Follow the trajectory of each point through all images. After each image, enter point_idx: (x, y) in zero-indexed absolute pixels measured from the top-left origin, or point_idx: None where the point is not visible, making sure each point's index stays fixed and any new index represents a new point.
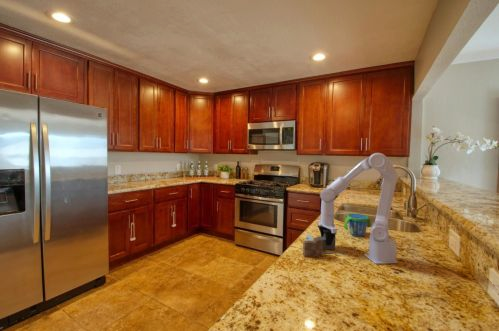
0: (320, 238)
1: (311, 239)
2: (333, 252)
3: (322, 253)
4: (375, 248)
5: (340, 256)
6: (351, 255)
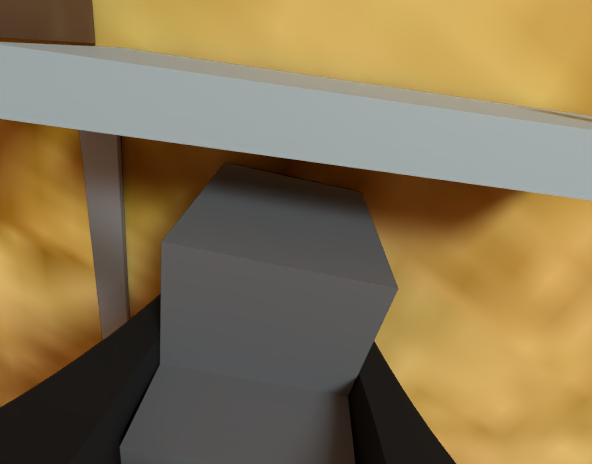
0: (258, 290)
1: (428, 101)
2: (105, 264)
3: None
4: None
5: (13, 272)
6: (49, 370)
